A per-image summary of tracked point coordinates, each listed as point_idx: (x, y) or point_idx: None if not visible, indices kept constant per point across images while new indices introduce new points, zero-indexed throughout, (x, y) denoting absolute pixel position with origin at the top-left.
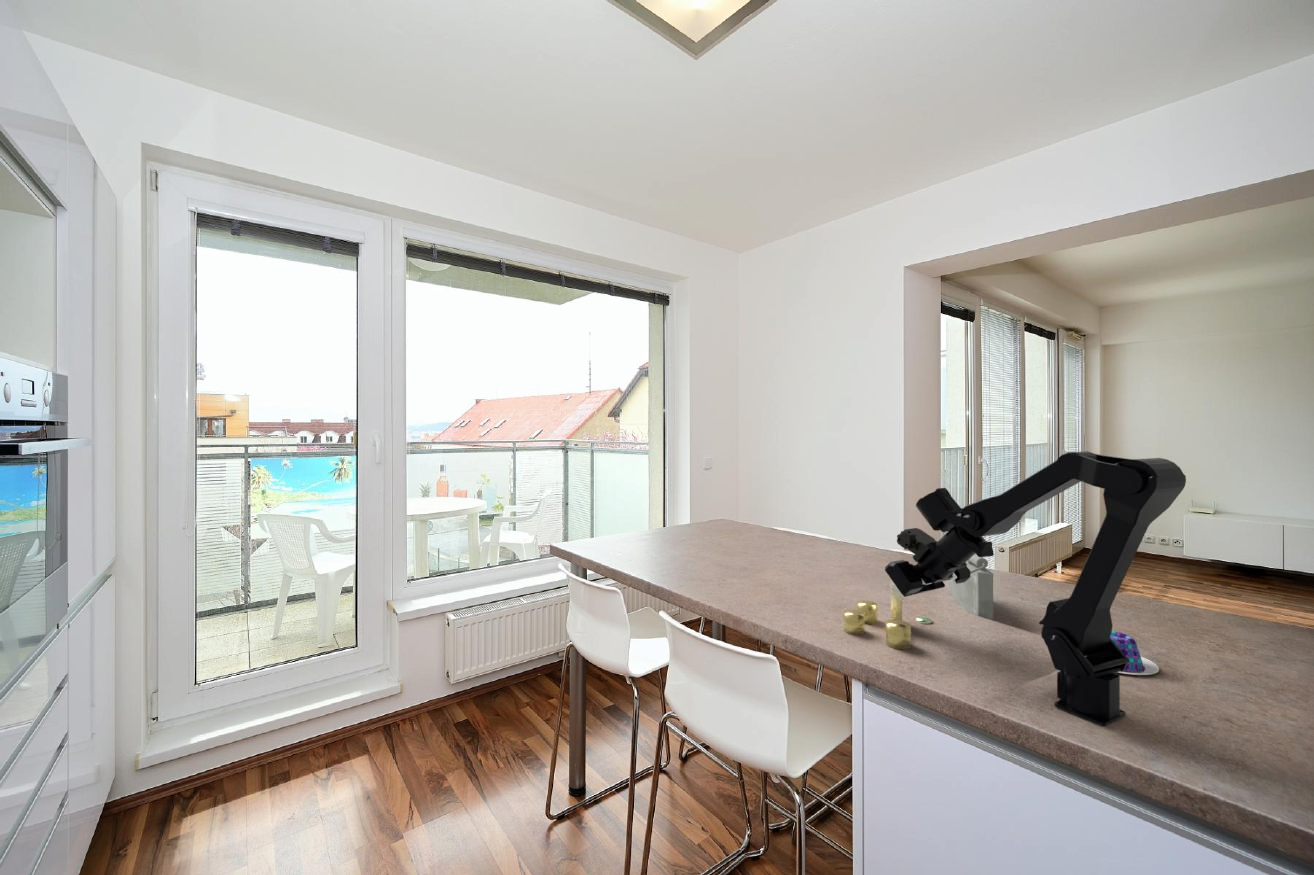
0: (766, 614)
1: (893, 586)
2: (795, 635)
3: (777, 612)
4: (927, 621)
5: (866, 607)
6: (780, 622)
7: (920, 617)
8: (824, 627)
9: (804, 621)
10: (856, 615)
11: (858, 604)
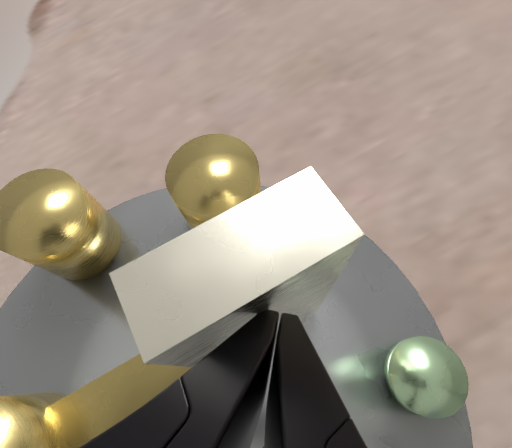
0: (117, 10)
1: (119, 291)
2: (13, 131)
3: (152, 14)
4: (411, 410)
5: (170, 194)
6: (84, 58)
7: (433, 353)
8: (129, 141)
9: (136, 85)
10: (5, 233)
11: (174, 155)
